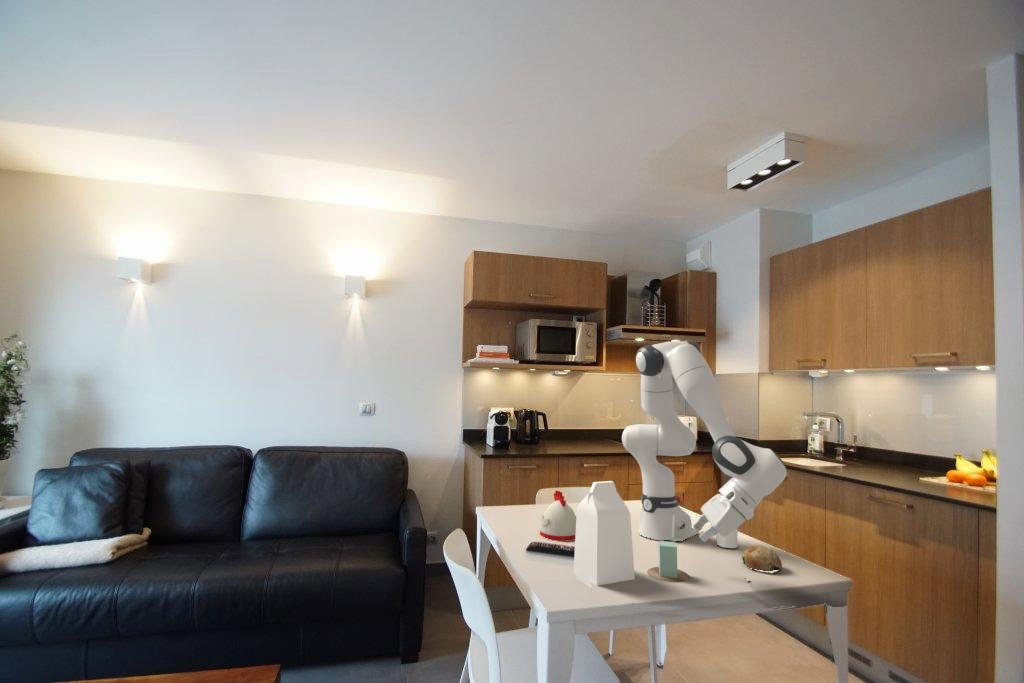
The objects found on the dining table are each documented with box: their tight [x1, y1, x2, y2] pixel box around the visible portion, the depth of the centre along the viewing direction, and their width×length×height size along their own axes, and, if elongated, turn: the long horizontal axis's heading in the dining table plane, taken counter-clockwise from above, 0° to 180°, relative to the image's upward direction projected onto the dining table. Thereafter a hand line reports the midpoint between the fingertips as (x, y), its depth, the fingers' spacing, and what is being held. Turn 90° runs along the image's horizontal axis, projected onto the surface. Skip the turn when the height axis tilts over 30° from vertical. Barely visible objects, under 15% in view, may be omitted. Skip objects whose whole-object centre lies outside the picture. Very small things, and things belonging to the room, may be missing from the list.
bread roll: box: [740, 545, 783, 571], centre depth 143 cm, size 10×10×8 cm
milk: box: [573, 480, 636, 589], centre depth 132 cm, size 12×12×26 cm
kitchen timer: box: [539, 490, 576, 542], centre depth 172 cm, size 14×14×15 cm
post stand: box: [646, 566, 690, 584], centre depth 132 cm, size 11×11×7 cm
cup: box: [715, 527, 739, 549], centre depth 162 cm, size 8×8×14 cm
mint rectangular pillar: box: [658, 540, 678, 578], centre depth 132 cm, size 4×4×8 cm
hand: (698, 533), depth 131 cm, fingers open, 8 cm apart
